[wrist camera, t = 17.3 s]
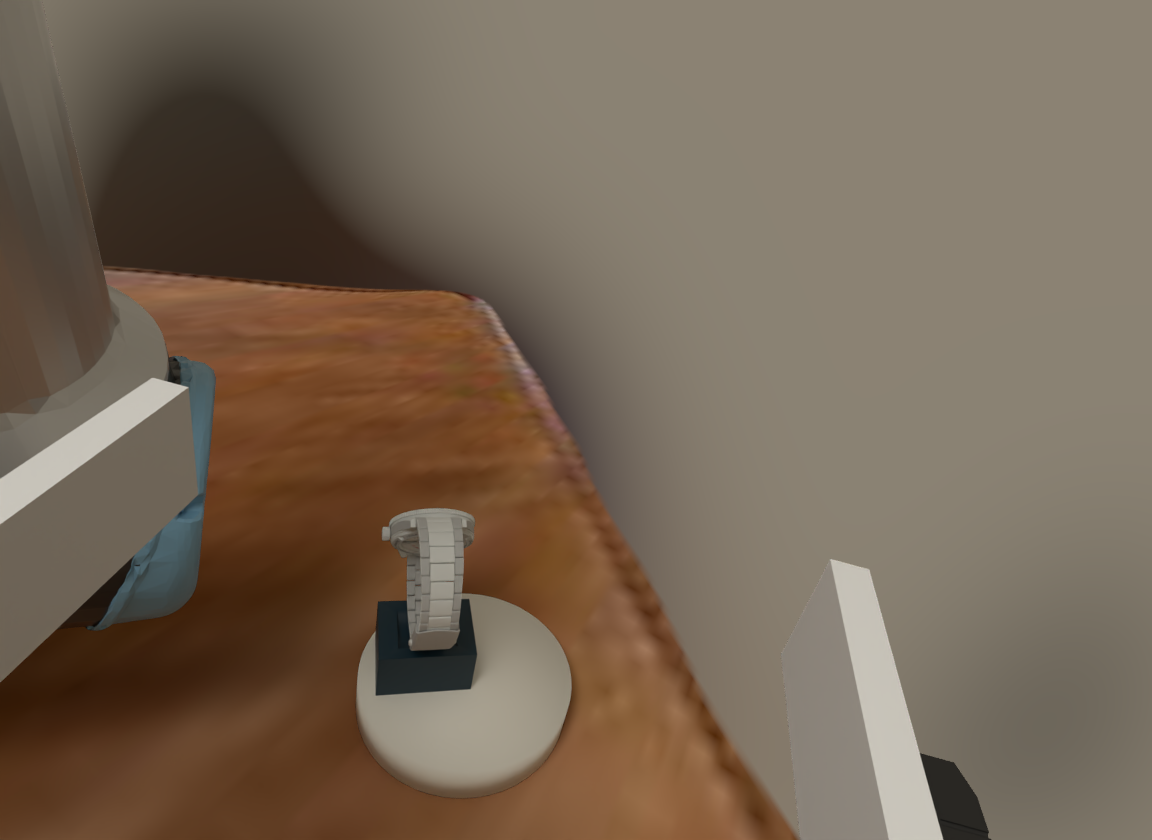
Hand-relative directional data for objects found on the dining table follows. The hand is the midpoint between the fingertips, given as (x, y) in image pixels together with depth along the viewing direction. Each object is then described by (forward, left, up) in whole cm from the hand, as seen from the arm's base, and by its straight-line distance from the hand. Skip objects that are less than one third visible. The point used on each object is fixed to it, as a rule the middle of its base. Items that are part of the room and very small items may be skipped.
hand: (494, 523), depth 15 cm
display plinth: (-7, +17, -30) cm, 35 cm away
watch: (-10, +16, -28) cm, 33 cm away
